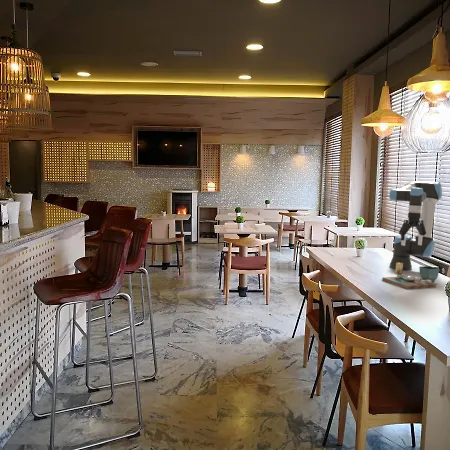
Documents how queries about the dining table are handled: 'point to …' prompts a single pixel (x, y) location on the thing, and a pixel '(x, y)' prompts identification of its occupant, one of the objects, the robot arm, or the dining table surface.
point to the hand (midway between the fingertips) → (411, 245)
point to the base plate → (409, 283)
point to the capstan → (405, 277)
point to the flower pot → (428, 273)
